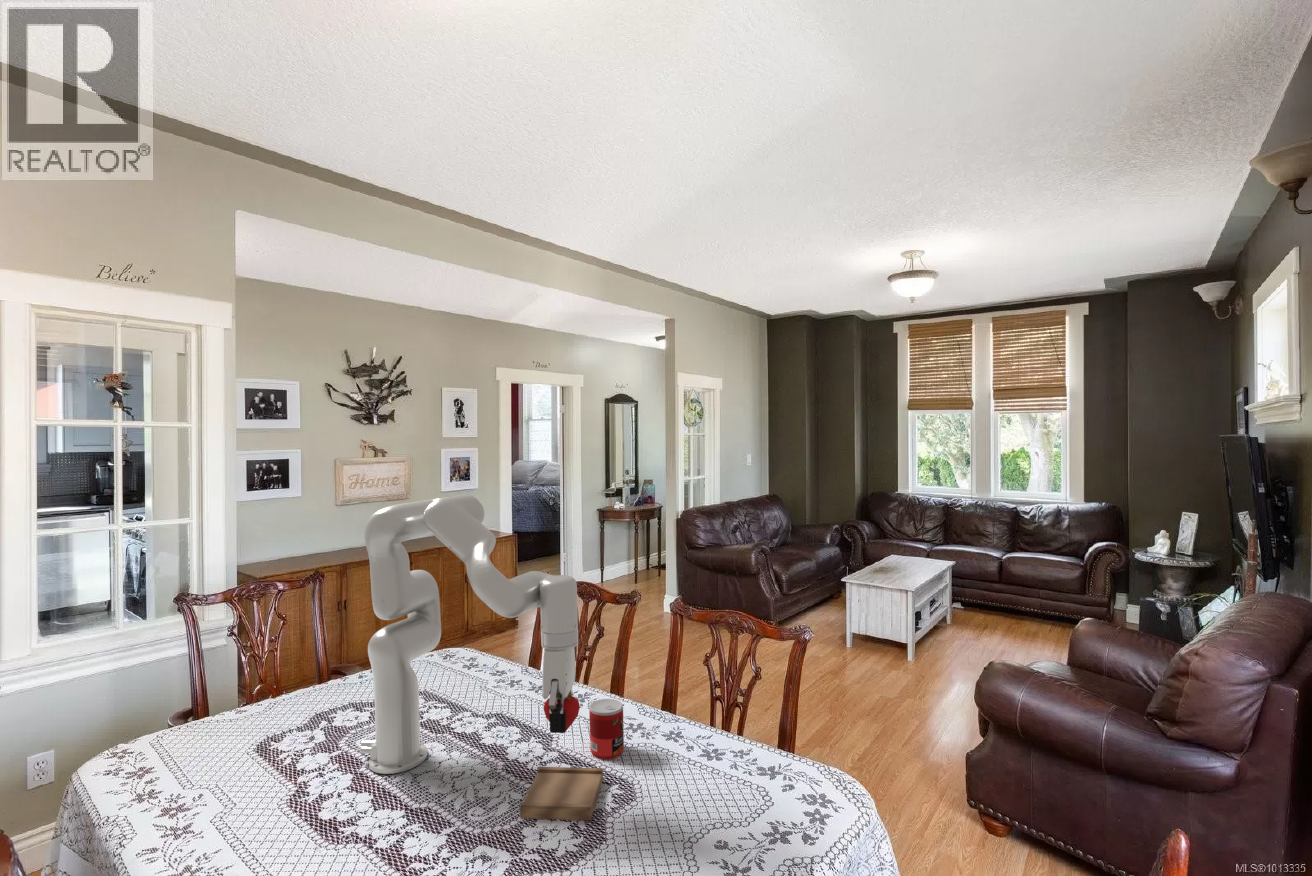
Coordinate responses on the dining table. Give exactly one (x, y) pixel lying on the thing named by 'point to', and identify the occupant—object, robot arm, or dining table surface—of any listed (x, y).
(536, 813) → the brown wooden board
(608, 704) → the canned food
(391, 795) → the dining table surface
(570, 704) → the strawberry
